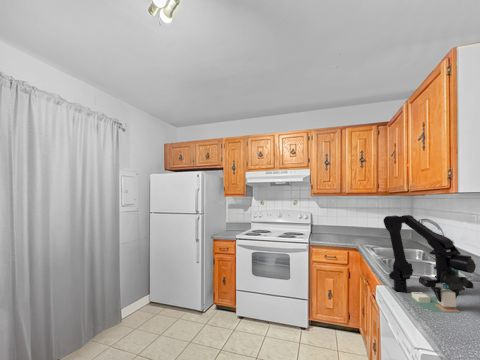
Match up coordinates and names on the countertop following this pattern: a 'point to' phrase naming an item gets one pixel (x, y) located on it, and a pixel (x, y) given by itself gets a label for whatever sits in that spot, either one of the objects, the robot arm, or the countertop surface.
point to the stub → (447, 298)
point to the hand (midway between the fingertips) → (446, 301)
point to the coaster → (447, 308)
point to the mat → (430, 305)
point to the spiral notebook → (421, 297)
